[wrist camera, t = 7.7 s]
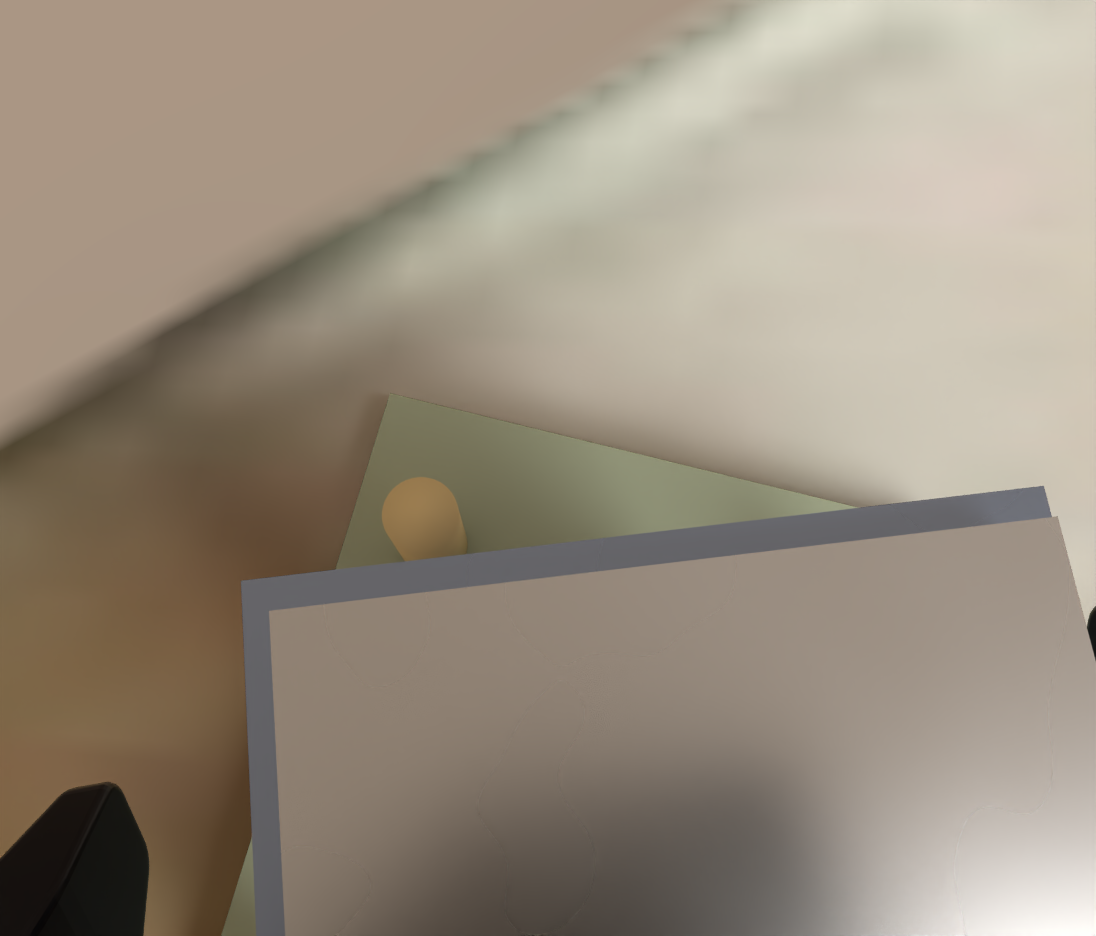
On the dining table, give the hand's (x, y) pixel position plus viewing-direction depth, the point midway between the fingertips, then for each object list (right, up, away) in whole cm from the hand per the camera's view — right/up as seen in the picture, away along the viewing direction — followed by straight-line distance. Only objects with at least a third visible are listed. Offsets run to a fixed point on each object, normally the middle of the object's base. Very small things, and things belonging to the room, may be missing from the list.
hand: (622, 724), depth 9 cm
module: (0, -4, +8) cm, 9 cm away
